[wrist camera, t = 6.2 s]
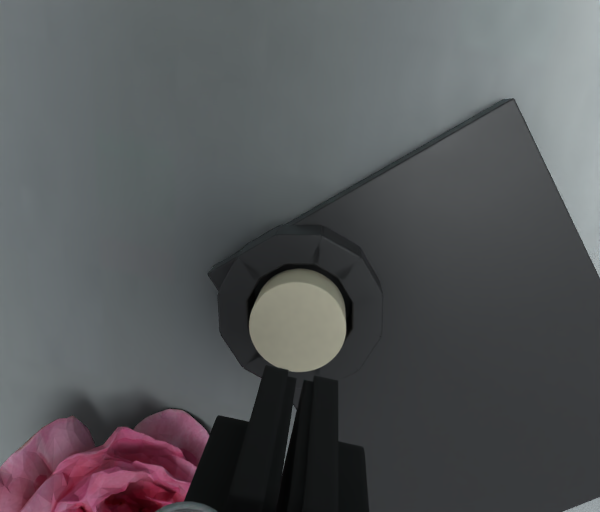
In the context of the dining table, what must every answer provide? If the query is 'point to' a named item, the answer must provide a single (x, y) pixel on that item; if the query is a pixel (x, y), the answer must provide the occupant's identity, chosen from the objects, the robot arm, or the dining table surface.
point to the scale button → (298, 320)
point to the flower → (104, 466)
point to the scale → (450, 324)
